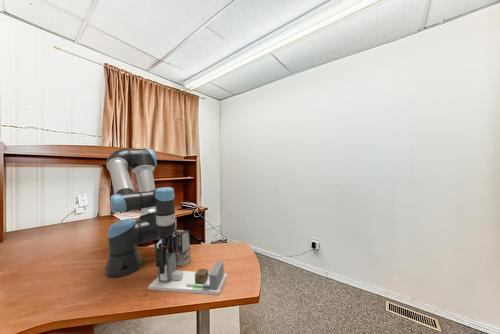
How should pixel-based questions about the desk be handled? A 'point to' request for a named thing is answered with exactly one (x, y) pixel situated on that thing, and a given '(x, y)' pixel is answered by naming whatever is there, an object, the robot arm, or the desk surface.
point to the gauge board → (188, 282)
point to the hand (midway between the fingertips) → (167, 275)
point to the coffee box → (183, 247)
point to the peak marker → (201, 276)
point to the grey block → (171, 268)
